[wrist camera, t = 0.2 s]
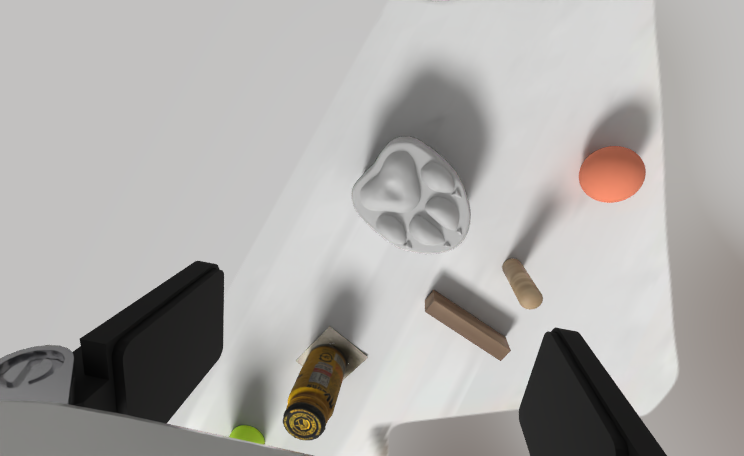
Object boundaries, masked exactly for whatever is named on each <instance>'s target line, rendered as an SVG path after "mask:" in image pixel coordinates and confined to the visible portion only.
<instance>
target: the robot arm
mask: <svg viewBox="0 0 744 456" xmlns="http://www.w3.org/2000/svg"><path fill="white" fill-rule="evenodd" d="M432 1H449V0H432ZM223 312H224V273H223V271H222V270H219V267H218V265H217V264H212V263H207V262H201V261H196V262H194V263H192V264H191V265H189V266H188V267H187V268H185V269H184V270H182V271H180V272H179V273H177V274H176V275H174V276H173V277H171V278H170V279H168V280H167V281H165V282H164V283H162V284H161V285H159V286H158V287H157V288H155V289H153V290H152V291H151V292H149V293H148V294H146V295H145V296H143V297H142V298H140V299H139V300H137V301H136V302H134V303H133V304H131V305H130V306H128V307H127V308H125V309H124V310H122V311H121V312H119V313H118V314H116V315H115V316H113V317H112V318H111V319H109V320H107V321H106V322H104V323H103V324H101V325H100V326H98V327H97V328H95V329H94V330H92V331H91V332H89V333H88V334H86V335H85V336H83V337H82V338H80V343H81V346H80V347H79V348H78V349H76V350H75V351H73V352H72V351H70V350H69V349H68V348H65V347H62V346H55V345H45V346H36V347H31V348H27V349H23V350H19V351H17V352H14V353H11V354H9V355H6V356H4V357H2V358H1V359H0V456H313V455H308V454H304V453H299V452H295V451H290V450H286V449H281V448H277V447H272V446H268V445H263V444H258V443H254V442H249V441H245V440H240V439H235V438H231V437H226V436H221V435H217V434H212V433H208V432H203V431H198V430H194V429H189V428H184V427H180V426H175V425H171V424H166V423H167V422H168V421H169V420H170V419H171V417H172V416H173V415H174V414H175V412H176V411H177V410H178V409H179V407H180V406H181V405H182V404H183V403H184V401H185V400H186V399H187V398H188V396H189V395H190V394H191V393H192V391H193V390H194V389H195V388H196V386H197V385H198V384H199V383H200V382H201V380H202V379H203V378H204V377H205V375H206V374H207V373H208V372H209V370H210V369H211V368H212V367H213V366H214V364H215V363H216V362H217V361H218V359H219V358H220V356H221V353H222V350H223ZM519 421H520V424H521V427H522V431H523V434H524V437H525V440H526V443H527V446H528V450H529V453H530V456H667V455H666V454H665V452H664V451H663V450H662V448H661V447H660V445H659V444H658V442H657V441H656V440H655V438H654V437H653V435H652V434H651V433H650V431H649V430H648V428H647V427H646V426H645V424H644V423H643V421H642V420H641V419H640V417H639V416H638V414H637V413H636V412H635V410H634V409H633V407H632V406H631V405H630V403H629V402H628V400H627V399H626V398H625V396H624V395H623V393H622V392H621V391H620V389H619V388H618V386H617V385H616V384H615V382H614V381H613V379H612V378H611V377H610V375H609V374H608V372H607V371H606V370H605V368H604V367H603V365H602V364H601V363H600V361H599V360H598V358H597V357H596V356H595V354H594V353H593V351H592V350H591V349H590V347H589V346H588V344H587V343H586V342H585V340H584V339H583V337H582V336H581V335H580V334H579V333H578V332H576V331H571V330H565V329H560V328H554V329H553V330H552V331H551V332H546V333H545V335H544V337H543V340H542V343H541V346H540V349H539V352H538V355H537V358H536V361H535V364H534V367H533V370H532V373H531V375H530V378H529V381H528V384H527V387H526V390H525V393H524V396H523V399H522V402H521V405H520V409H519Z"/></svg>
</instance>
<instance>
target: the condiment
mask: <svg viewBox="0 0 744 456" xmlns="http://www.w3.org/2000/svg"><path fill="white" fill-rule="evenodd" d="M329 343H331V344H329ZM332 343H334V344H332ZM367 358H368V357H367V356H365V355H364V354H363V353H362V352H361V351H360V350H359V349H357V348H356V347H355V346H354V345H353V344H351V343H350V342H349V341H348V340H347V339H346V338H344V337H343V336H341V335H340V334H339V333H338V332H337V331H335V330H334V329H332V328H331V327H330V326H329V327H328V328H327V329H326V330H325V331H324V332H323V334H322V335H321V336H320V337H319V338H318V339H317V340H316V341H315V342H314V343H313V344H312V345H311V346H310V347H309V348H308V349H307V350H306V351H305V352H304V353H303V354H302V355H301V356H300V357H299V358H298V359H297V360H296V362H298V363H299V364H300V365H302V366H303V367H302V369H301V371H300V373H299V376H298V377H297V380H296V382H295V384H294V386H293V388H292V390H291V393H290V395H289V398H288V405H287V408H286V411H285V413H284V418H283V424H284V427H285V429H286V430H287V431H288V433H289V434H291V435H292V436H294V437H295V438H298V439H300V440H313V439H316V438H318V437H319V436H320V435H321V434H322V433H323V432H324V430H325V426H326V423H327V421H328V420H329V418H330V417H331V416H332V414H333V411H334V407H335V404H336V401H337V397H338V394H339V391H340V387H341V384H342V381H343V380H344V379H345V378H346V377H347V376H348V375H349V374H350V373H351V372H353V371H354V370H355V369H356V368H357V367H358V366H359V365H360V364H361V363H362V362H364V361H365V360H366V359H367ZM348 363H349V364H348Z"/></svg>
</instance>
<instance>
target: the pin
mask: <svg viewBox="0 0 744 456" xmlns="http://www.w3.org/2000/svg"><path fill="white" fill-rule="evenodd" d="M502 269H503V272H504V274H505V276H506V277H507V279H508V281H509V283H510V285H511V287H512V289H513V291H514V293H515V295H516V297H517V299H518V301H519V303H520V305H521V306H522V307H524V308H526V309H535V308H537V307H539V306H540V305H541V303H542V301H543V297H542V294H541V293H540V291H539V290H538V288H537V287H536V285H535V284H534V282H533V280H532V279H531V277H530V276H529V274H528V273H527V271H526V270H525V268H524V267H523V265H522V264H521V262H520V261H519V260H517V259H508V260H506V261H505V262H504V264H503V266H502Z"/></svg>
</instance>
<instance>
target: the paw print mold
mask: <svg viewBox="0 0 744 456" xmlns="http://www.w3.org/2000/svg"><path fill="white" fill-rule="evenodd" d="M352 202H353V206H354V208H355V210H356V212H357V213H358V215H359V216H360V217H361V218H362V219H363V220H364V221H365V222H366V223H367V224H368V225H369V226H370V227H371V228H372V229H373V230H374V231H375V232H376V233H377V234H379V235H380V236H381V237H383V238H384V239H385V240H386V241H388V242H389V243H391V244H392V245H394V246H395V247H397V248H399V249H402V250H406V251H410V252H415V253H421V254H437V253H442V252H447V251H450V250H452V249H454V248H456V247H457V246H459V245H460V244H461V243H462V241H463V240H464V239H465V237H466V235H467V233H468V230H469V225H470V216H471V212H470V206H469V202H468V198H467V195H466V191H465V189H464V186H463V184H462V182H461V180H460V178H459V176H458V175H457V173H456V171H455V170H454V169H453V167H452V166H451V165H450V164H449V163H448V162H447V161H446V160H445V159H444V158H443V157H442V156H440V155H439V154H438V153H437V152H436V151H434V150H433V149H432V148H430V147H429V146H427V145H426V144H425V143H423V142H422V141H420V140H418V139H416V138H413V137H408V136H402V137H397V138H395V139H393V140H392V141H390V142H389V143H388V144H387V145H386V147H385V148H384V149H383V150H382V152H381V153H380V154H379V156H378V158H377V160H376V161H375V163H374V164H373V165H372V166H371V167H370V168H369V169H367V171H366V172H365V173H364V174H363V175H362V176H361V177H360V178H359V179H358V180H357V182H356V183H355V184H354V186H353V189H352Z"/></svg>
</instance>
